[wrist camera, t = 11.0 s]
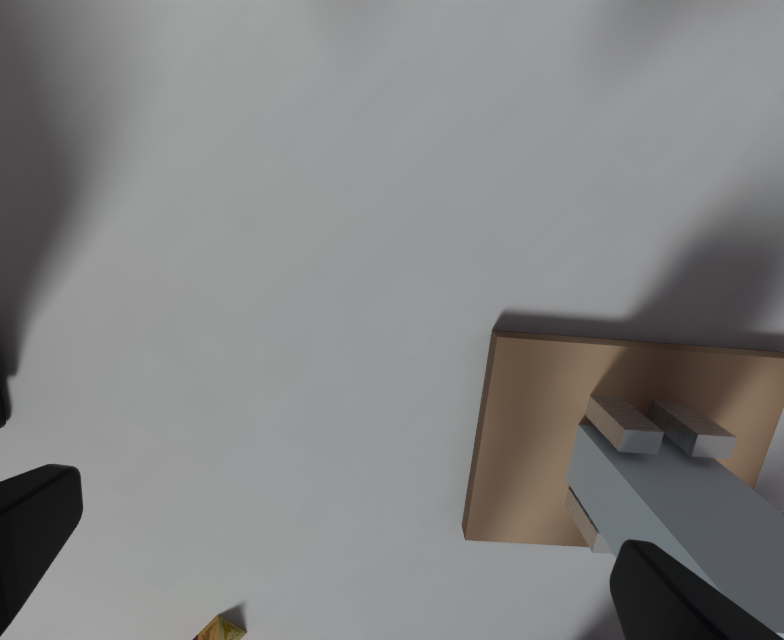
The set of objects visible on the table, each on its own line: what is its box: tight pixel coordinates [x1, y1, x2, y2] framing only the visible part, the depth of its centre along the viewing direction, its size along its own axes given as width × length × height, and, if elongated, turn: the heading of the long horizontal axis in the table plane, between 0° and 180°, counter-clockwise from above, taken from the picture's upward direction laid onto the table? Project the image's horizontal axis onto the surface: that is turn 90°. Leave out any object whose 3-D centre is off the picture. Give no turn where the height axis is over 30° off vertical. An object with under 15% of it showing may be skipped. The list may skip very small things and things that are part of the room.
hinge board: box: [462, 330, 784, 554], centre depth 20 cm, size 14×11×4 cm
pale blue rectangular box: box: [565, 424, 784, 639], centre depth 16 cm, size 5×3×10 cm, turn 85°
